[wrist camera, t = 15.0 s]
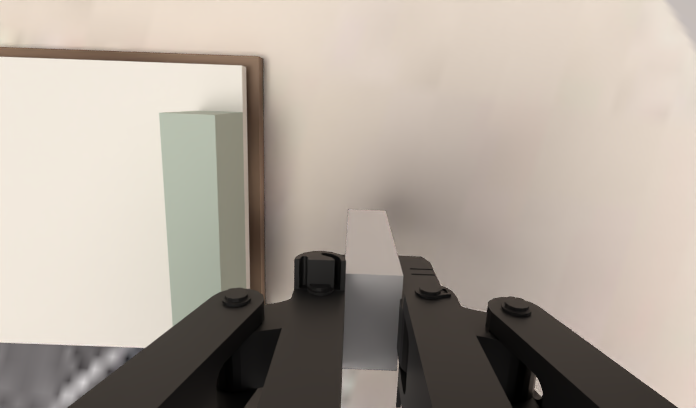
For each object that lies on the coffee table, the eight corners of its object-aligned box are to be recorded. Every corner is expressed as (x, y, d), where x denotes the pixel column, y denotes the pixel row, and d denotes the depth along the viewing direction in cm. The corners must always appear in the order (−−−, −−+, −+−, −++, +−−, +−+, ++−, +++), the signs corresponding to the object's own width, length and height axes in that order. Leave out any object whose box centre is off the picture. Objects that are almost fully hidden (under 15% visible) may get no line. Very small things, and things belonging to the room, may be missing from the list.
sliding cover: (250, 343, 23) (225, 405, 18) (-13, 333, 23) (-106, 392, 18) (246, 67, 20) (212, 56, 15) (-61, 55, 20) (-190, 41, 15)
